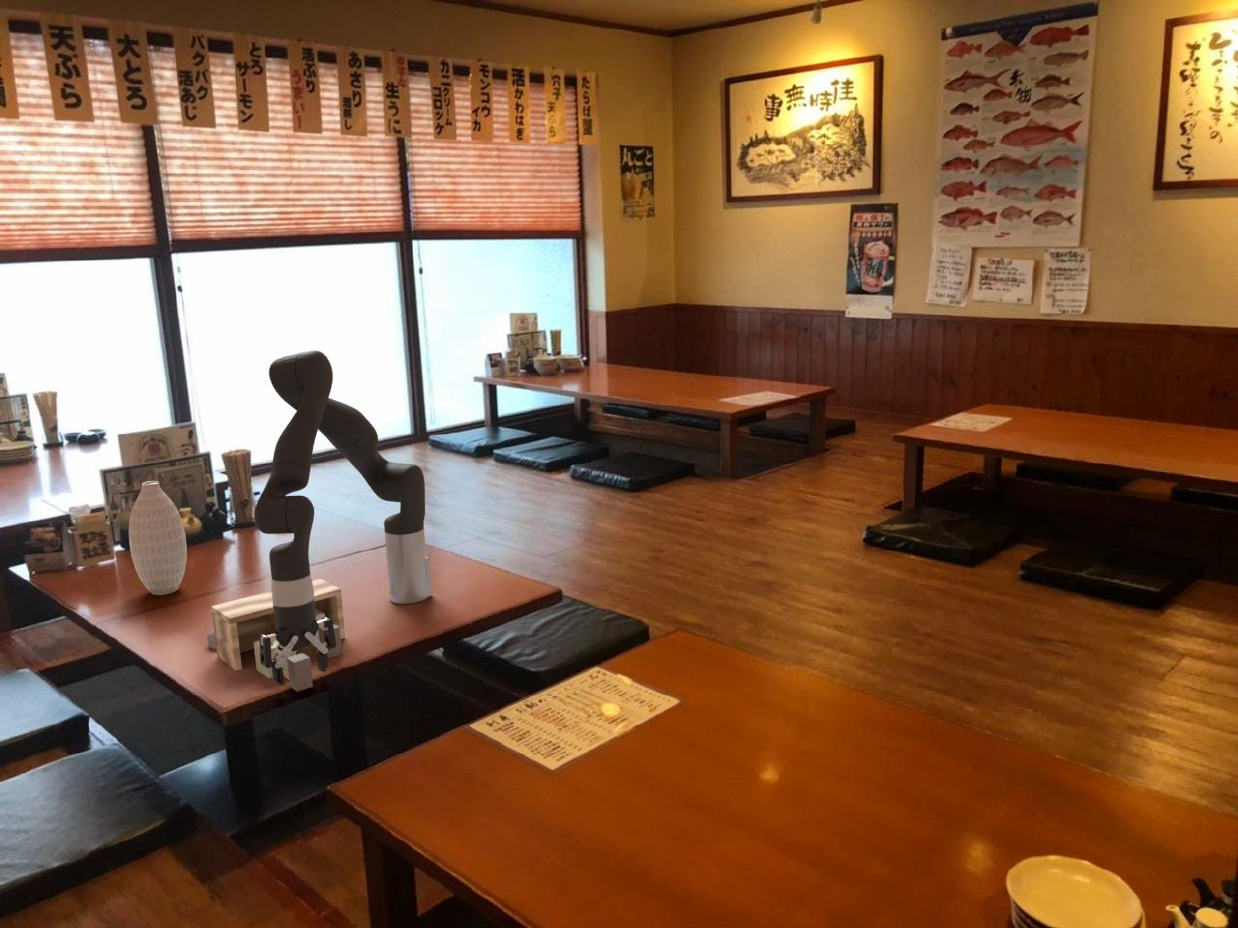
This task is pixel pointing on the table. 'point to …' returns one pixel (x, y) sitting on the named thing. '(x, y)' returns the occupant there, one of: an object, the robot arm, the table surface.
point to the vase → (157, 540)
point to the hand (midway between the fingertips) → (301, 677)
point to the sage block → (289, 668)
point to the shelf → (263, 620)
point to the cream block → (320, 637)
